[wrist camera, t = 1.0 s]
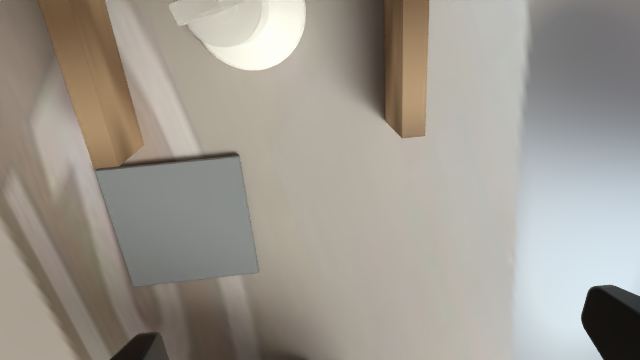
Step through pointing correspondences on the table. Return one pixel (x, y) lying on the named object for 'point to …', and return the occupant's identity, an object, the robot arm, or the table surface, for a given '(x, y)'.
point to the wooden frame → (114, 97)
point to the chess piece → (244, 29)
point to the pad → (181, 219)
